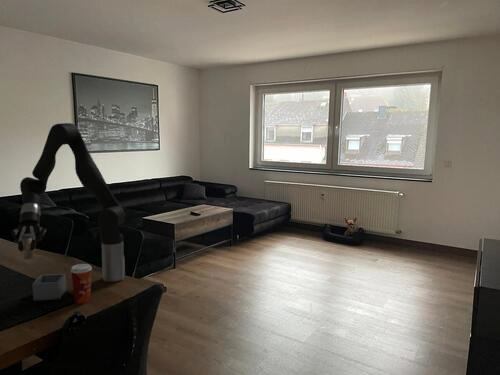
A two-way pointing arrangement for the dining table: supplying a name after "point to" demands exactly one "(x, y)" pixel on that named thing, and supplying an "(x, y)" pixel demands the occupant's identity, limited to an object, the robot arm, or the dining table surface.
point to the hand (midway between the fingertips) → (26, 250)
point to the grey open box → (49, 287)
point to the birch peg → (27, 246)
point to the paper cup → (81, 282)
